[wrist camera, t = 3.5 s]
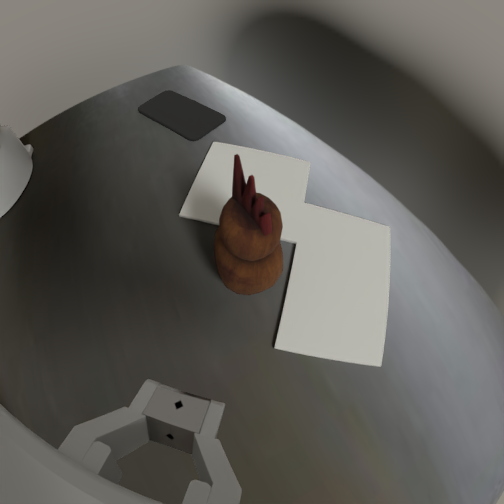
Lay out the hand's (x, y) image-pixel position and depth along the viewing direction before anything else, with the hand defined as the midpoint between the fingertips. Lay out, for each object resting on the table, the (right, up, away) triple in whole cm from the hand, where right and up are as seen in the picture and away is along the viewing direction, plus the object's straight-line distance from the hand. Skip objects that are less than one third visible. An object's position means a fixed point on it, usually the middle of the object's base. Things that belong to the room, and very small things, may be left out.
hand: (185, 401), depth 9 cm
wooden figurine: (+2, +3, +20) cm, 20 cm away
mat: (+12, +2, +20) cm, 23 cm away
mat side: (+2, +13, +24) cm, 28 cm away
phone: (-9, +27, +31) cm, 42 cm away
